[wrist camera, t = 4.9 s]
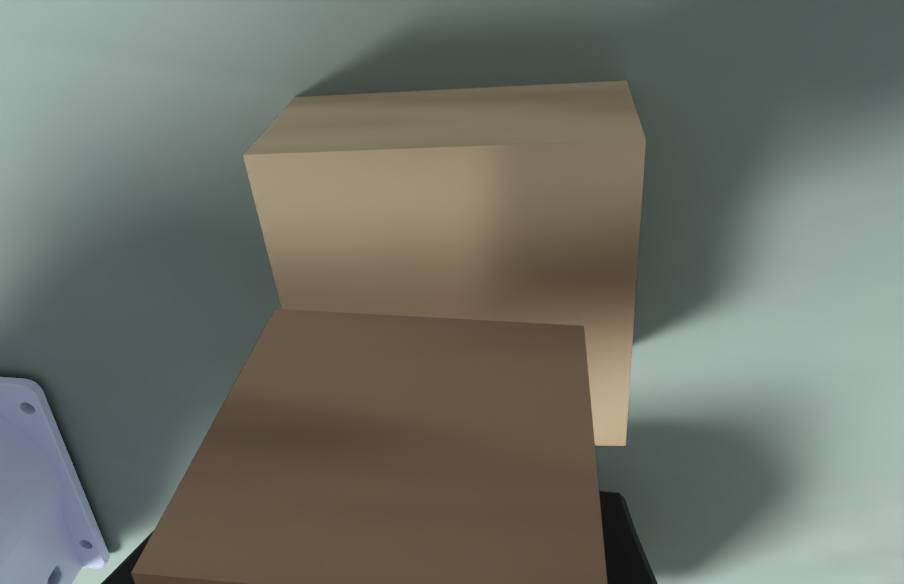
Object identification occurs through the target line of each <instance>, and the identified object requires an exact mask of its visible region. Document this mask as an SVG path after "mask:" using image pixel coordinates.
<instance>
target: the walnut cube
mask: <svg viewBox="0 0 904 584" xmlns="http://www.w3.org/2000/svg"><path fill="white" fill-rule="evenodd" d="M131 574H132V577H133V579H134V582H135V584H607V573H606V562H605V551H604V540H603V529H602V518H601V507H600V496H599V485H598V474H597V463H596V452H595V441H594V430H593V419H592V408H591V397H590V386H589V375H588V364H587V353H586V342H585V331H584V326H581V325H563V324H545V323H527V322H509V321H490V320H472V319H454V318H436V317H418V316H400V315H381V314H363V313H345V312H327V311H309V310H291V309H275V310H274V312H273V314H272V315H271V317H270V319H269V321H268V323H267V325H266V326H265V328H264V330H263V332H262V334H261V336H260V337H259V339H258V341H257V343H256V345H255V347H254V348H253V350H252V352H251V354H250V356H249V358H248V359H247V361H246V363H245V365H244V367H243V369H242V370H241V372H240V374H239V376H238V378H237V380H236V381H235V383H234V385H233V387H232V389H231V391H230V392H229V394H228V396H227V398H226V400H225V402H224V403H223V405H222V407H221V409H220V411H219V413H218V414H217V416H216V418H215V420H214V422H213V424H212V425H211V427H210V429H209V431H208V433H207V435H206V436H205V438H204V440H203V442H202V444H201V446H200V447H199V449H198V451H197V453H196V455H195V457H194V458H193V460H192V462H191V464H190V466H189V468H188V469H187V471H186V473H185V475H184V477H183V479H182V480H181V482H180V484H179V486H178V488H177V490H176V491H175V493H174V495H173V497H172V499H171V501H170V502H169V504H168V506H167V508H166V510H165V512H164V513H163V515H162V517H161V519H160V521H159V523H158V524H157V526H156V528H155V530H154V532H153V534H152V535H151V537H150V539H149V541H148V543H147V545H146V546H145V548H144V550H143V552H142V554H141V556H140V557H139V559H138V561H137V563H136V565H135V567H134V568H133V570H132V572H131Z"/></svg>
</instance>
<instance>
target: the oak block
mask: <svg viewBox="0 0 904 584" xmlns="http://www.w3.org/2000/svg"><path fill="white" fill-rule="evenodd" d="M645 148H646V138H645V135H644V132H643V129H642V125H641V122H640V119H639V116H638V113H637V110H636V107H635V104H634V101H633V98H632V95H631V92H630V89H629V86H628V82H627V80H626V81H606V82H586V83H565V84H545V85H525V86H504V87H484V88H464V89H443V90H423V91H402V92H382V93H362V94H341V95H321V96H301V97H294V98H293V99H292V100H291V102H290V103H289V104H288V105H287V106H286V107H285V108H284V109H283V111H282V112H281V113H280V114H279V115H278V116H277V117H276V118H275V119H274V121H273V122H272V123H271V124H270V125H269V126H268V127H267V128H266V130H265V131H264V132H263V133H262V134H261V135H260V136H259V137H258V138H257V140H256V141H255V142H254V143H253V144H252V145H251V146H250V147H249V149H248V150H247V151H246V152H245V153H244V154H243V158H244V162H245V166H246V170H247V174H248V178H249V182H250V186H251V190H252V194H253V198H254V202H255V205H256V209H257V213H258V217H259V221H260V225H261V229H262V233H263V237H264V241H265V245H266V249H267V253H268V257H269V261H270V265H271V269H272V273H273V277H274V281H275V285H276V289H277V293H278V297H279V301H280V305H281V309H291V310H309V311H327V312H345V313H363V314H381V315H400V316H418V317H436V318H454V319H472V320H490V321H509V322H527V323H545V324H563V325H581V326H584V331H585V342H586V353H587V364H588V375H589V386H590V397H591V408H592V419H593V430H594V441H595V445H596V446H626V433H627V418H628V403H629V388H630V373H631V358H632V343H633V328H634V313H635V298H636V283H637V268H638V253H639V238H640V223H641V208H642V193H643V178H644V163H645Z"/></svg>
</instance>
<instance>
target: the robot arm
mask: <svg viewBox="0 0 904 584" xmlns="http://www.w3.org/2000/svg"><path fill="white" fill-rule="evenodd" d="M599 496H600V507H601V518H602V529H603V540H604V551H605V562H606V573H607V584H658V583H657V581H656V579H655V577H654V574H653V572H652V570H651V567H650V565H649V563H648V560H647V558H646V556H645V553H644V551H643V548H642V546H641V543H640V541H639V538H638V536H637V533H636V530H635V528H634V525H633V522H632V519H631V516H630V513H629V510H628V507H627V504H626V500H625V498H624V497H623V496H622V495H621V494H620V493H614V492H601V491H599ZM153 532H154V531H153ZM153 532H152V533H151V534H150V535H149V536H148V537H147V538H146V539H145V540H144V541H143V542H142V543H141V544H140V545H139V546H138V547H137V548H136V549H135V550H134V551H133V552H132V553H131V554H130V555H129V556H128V557H127V558H126V559H125V560H124V561H123V562H122V563H121V564H120V565H119V566H118V567H117V568H116V569H115V570H114V571H113V572H112V573H111V574H110V575H109V576H108V577H107V578H106V579H105V580H104V581H103V582H102V583H101V584H135V582H134V579H133V577H132V574H131V572H132V570H133V568H134V567H135V565H136V563H137V561H138V559H139V557H140V556H141V554H142V552H143V550H144V548H145V546H146V545H147V543H148V541H149V539H150V537H151V535H152V534H153ZM109 558H110V555H109V552H108V550H107V547H106V545H105V543H104V540H103V538H102V535H101V533H100V530H99V528H98V525H97V523H96V520H95V518H94V515H93V513H92V510H91V508H90V505H89V503H88V501H87V498H86V496H85V493H84V491H83V488H82V486H81V483H80V481H79V478H78V476H77V473H76V471H75V468H74V466H73V464H72V461H71V459H70V456H69V454H68V451H67V449H66V446H65V444H64V441H63V439H62V436H61V434H60V431H59V429H58V426H57V424H56V422H55V419H54V417H53V414H52V412H51V409H50V407H49V404H48V402H47V399H46V397H45V394H44V392H43V390H42V388H41V387H40V386H39V385H38V384H37V383H36V382H34V381H32V380H29V379H24V378H10V377H0V584H72V582H73V581H74V579H75V577H76V576H77V574H78V573H79V571H80V569H81V568H82V567H88V568H102V567H104V566H105V565H106V563H107V561H108V560H109Z"/></svg>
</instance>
